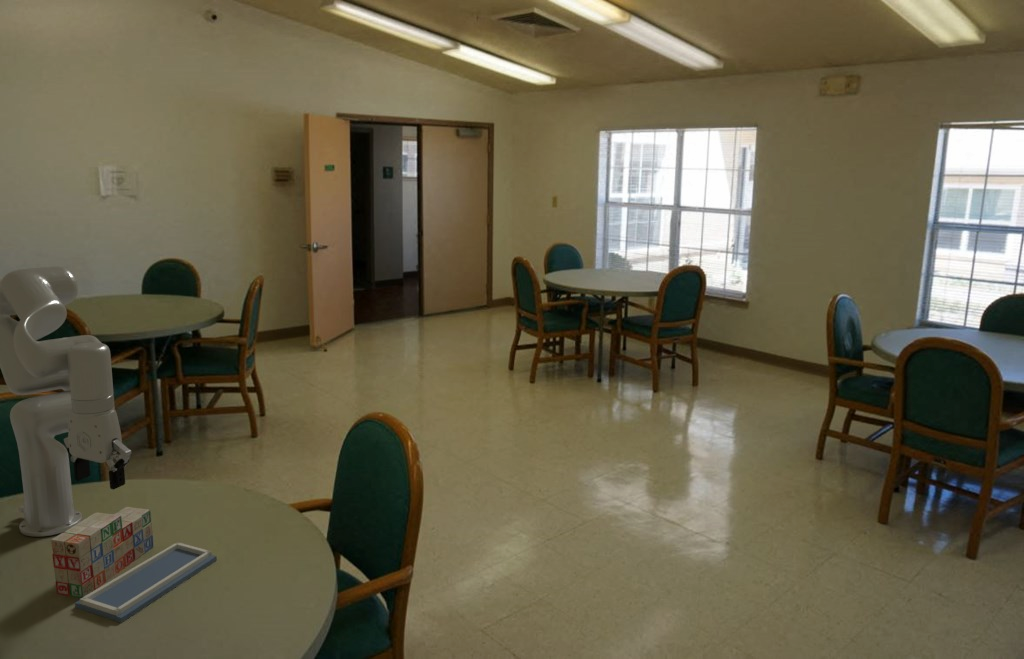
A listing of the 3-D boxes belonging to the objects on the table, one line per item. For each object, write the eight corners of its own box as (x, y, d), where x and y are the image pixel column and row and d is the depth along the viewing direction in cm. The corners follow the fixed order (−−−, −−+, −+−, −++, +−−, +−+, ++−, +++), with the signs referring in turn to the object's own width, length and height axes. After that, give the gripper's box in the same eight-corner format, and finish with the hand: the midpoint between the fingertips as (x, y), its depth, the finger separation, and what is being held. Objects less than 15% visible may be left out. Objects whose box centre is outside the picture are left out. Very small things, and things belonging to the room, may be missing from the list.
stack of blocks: (129, 543, 169) (125, 493, 166) (154, 547, 168) (150, 496, 165) (55, 594, 149) (50, 538, 146) (83, 599, 147) (77, 543, 145)
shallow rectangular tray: (75, 607, 145) (74, 598, 144) (174, 548, 167) (173, 540, 167) (121, 622, 140) (120, 613, 140) (216, 560, 163) (216, 552, 163)
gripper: (45, 402, 150) (53, 481, 153) (109, 415, 144) (116, 497, 147) (78, 393, 156) (85, 468, 160) (141, 404, 151) (146, 483, 154)
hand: (100, 482), depth 154 cm, fingers open, 9 cm apart
